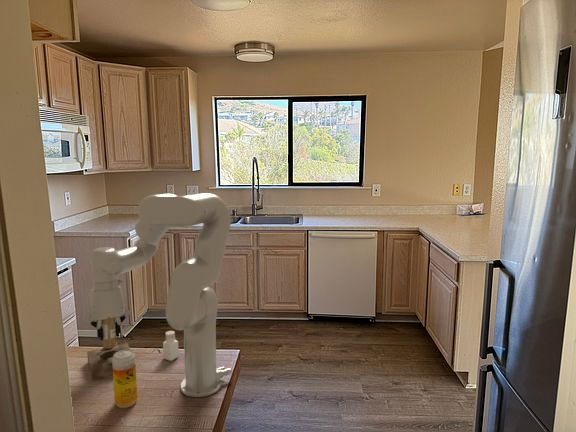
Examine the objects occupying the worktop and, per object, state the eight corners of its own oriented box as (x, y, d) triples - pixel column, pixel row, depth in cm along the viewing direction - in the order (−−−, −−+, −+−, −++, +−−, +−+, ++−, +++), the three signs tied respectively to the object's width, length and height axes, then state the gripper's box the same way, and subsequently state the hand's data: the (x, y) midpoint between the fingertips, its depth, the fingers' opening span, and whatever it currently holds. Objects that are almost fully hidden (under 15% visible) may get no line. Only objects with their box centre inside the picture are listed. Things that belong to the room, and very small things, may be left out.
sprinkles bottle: (118, 346, 134) (116, 308, 132) (103, 350, 131) (101, 311, 129) (115, 341, 137) (113, 304, 136) (101, 345, 135) (99, 307, 133)
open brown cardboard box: (127, 353, 145) (126, 338, 144) (135, 370, 133) (134, 353, 132) (88, 362, 138) (86, 346, 137) (92, 381, 126) (91, 364, 125)
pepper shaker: (162, 358, 140) (161, 333, 139) (171, 354, 144) (170, 329, 142) (170, 361, 138) (169, 336, 137) (179, 357, 142) (178, 331, 140)
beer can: (123, 411, 110) (120, 361, 108) (110, 404, 114) (107, 355, 112) (142, 400, 116) (139, 352, 114) (128, 394, 119) (126, 347, 117)
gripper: (130, 278, 139) (133, 327, 141) (76, 285, 130) (80, 338, 133) (135, 283, 133) (137, 335, 135) (78, 292, 124) (82, 347, 126)
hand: (109, 336), depth 134 cm, fingers closed on sprinkles bottle, 4 cm apart
